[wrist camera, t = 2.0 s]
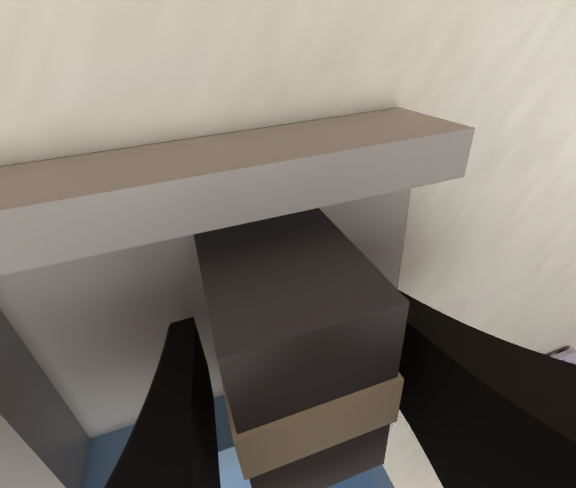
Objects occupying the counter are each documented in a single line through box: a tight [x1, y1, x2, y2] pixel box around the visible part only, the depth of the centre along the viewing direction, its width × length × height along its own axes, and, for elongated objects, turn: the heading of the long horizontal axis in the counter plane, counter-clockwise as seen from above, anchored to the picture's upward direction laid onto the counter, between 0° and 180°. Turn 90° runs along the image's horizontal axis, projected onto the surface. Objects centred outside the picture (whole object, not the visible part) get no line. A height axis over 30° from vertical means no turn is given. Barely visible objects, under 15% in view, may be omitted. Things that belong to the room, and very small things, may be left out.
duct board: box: [0, 108, 475, 488], centre depth 12 cm, size 13×20×4 cm, turn 4°
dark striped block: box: [194, 208, 410, 488], centre depth 9 cm, size 4×6×5 cm, turn 4°
